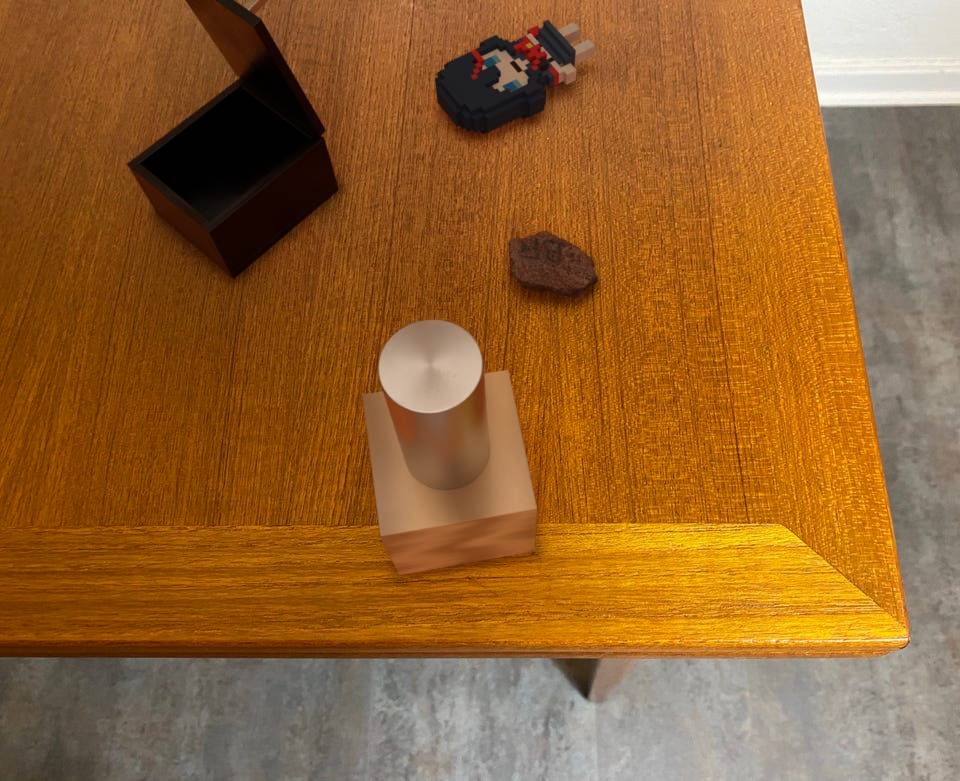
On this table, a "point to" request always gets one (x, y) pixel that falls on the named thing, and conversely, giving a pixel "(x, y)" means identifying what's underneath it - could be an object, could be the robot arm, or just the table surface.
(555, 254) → the stone
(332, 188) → the dark brown box
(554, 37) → the figurine
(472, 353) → the canister
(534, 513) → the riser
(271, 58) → the lid
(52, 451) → the table surface
